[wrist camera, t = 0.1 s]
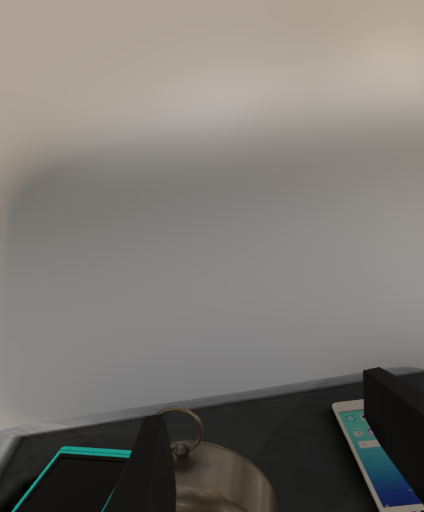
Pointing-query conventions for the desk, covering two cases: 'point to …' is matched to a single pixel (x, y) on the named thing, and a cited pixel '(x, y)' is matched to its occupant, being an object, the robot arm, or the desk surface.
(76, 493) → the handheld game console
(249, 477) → the alarm clock
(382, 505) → the smartphone
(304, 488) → the desk surface
